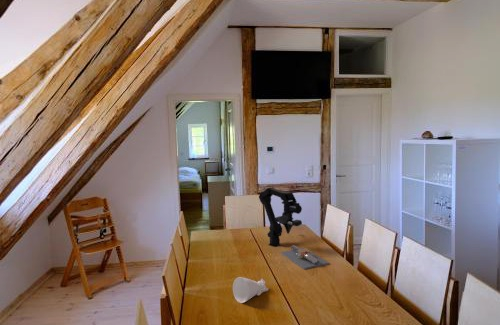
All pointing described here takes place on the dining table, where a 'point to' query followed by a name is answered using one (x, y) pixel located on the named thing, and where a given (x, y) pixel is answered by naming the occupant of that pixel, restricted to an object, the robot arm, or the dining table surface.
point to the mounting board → (304, 260)
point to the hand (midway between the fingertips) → (288, 233)
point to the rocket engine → (247, 288)
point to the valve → (307, 256)
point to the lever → (301, 254)
